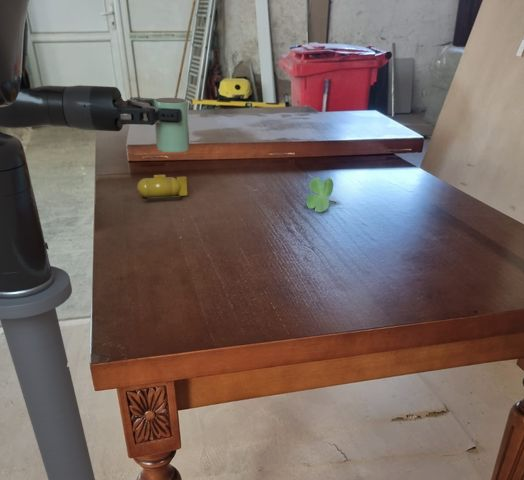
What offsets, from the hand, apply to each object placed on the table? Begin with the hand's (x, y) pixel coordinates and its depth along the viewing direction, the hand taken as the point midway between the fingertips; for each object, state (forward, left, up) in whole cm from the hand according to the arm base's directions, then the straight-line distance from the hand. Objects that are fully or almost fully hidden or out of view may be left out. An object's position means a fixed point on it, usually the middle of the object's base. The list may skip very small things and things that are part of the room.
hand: (183, 112), depth 97 cm
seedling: (+27, -6, -18) cm, 33 cm away
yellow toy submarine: (-5, +6, -18) cm, 19 cm away
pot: (-2, +1, -6) cm, 7 cm away
